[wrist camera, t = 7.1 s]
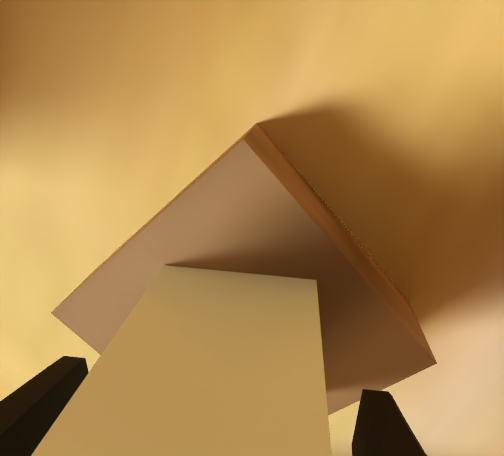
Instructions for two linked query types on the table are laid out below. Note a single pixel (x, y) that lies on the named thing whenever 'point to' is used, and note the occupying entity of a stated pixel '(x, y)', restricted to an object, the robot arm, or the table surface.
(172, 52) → the table surface
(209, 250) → the walnut box
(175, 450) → the cream cube with panel
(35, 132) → the table surface
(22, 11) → the table surface
